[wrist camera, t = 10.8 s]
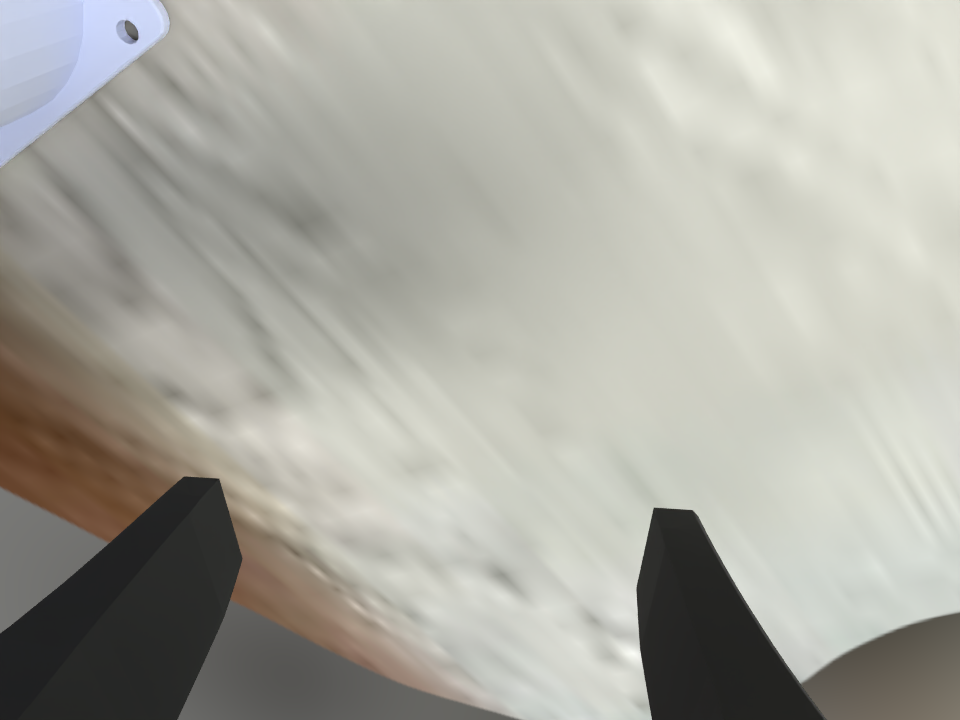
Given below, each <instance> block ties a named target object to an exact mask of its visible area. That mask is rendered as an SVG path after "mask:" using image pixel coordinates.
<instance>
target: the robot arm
mask: <svg viewBox="0 0 960 720" xmlns="http://www.w3.org/2000/svg"><path fill="white" fill-rule="evenodd" d="M126 20H128V21H130V22H131V23H133V24H134V25H135V26H136V28H137V30H138V35H139V38H138V40H133V39H132V38H131V37H130V36H129V35H128V34H127V32H126V30H125V21H126ZM169 26H170V21H169V16H168V13H167V11H166V10H165V8H164V6H163V5H162V3H161V2H160V1H159V0H0V168H1V167H3V166H4V165H5V164H6V163H8V162H9V161H10V160H11V159H13V158H14V157H15V156H16V155H18V154H19V153H20V152H21V151H23V150H24V149H25V148H26V147H28V146H29V145H30V144H31V143H33V142H34V141H35V140H36V139H38V138H39V137H40V136H41V135H43V134H44V133H45V132H46V131H48V130H49V129H50V128H51V127H53V126H54V125H55V124H56V123H58V122H59V121H60V120H61V119H63V118H64V117H65V116H66V115H68V114H69V113H70V112H71V111H73V110H74V109H75V108H76V107H78V106H79V105H80V104H81V103H83V102H84V101H85V100H86V99H88V98H89V97H90V96H91V95H93V94H94V93H95V92H96V91H98V90H99V89H100V88H101V87H103V86H104V85H105V84H106V83H108V82H109V81H110V80H111V79H113V78H114V77H115V76H116V75H118V74H119V73H120V72H121V71H123V70H124V69H125V68H126V67H128V66H129V65H130V64H131V63H133V62H134V61H135V60H136V59H138V58H139V57H140V56H141V55H143V54H144V53H145V52H146V51H148V50H149V49H150V48H151V47H153V46H154V45H155V44H156V43H158V42H159V41H160V40H161V39H163V38H164V37H165V35H166V34H167V33H168V31H169ZM241 562H242V555H241V552H240V549H239V545H238V542H237V538H236V535H235V531H234V528H233V525H232V521H231V518H230V514H229V511H228V507H227V504H226V501H225V497H224V494H223V490H222V487H221V483H220V480H219V479H214V478H199V477H183V478H182V479H181V480H180V481H178V482H177V483H176V484H175V485H174V486H173V487H172V488H170V489H169V490H168V491H167V492H166V493H165V494H164V495H163V496H161V497H160V498H159V499H158V500H157V501H156V502H155V503H154V504H152V505H151V506H150V507H149V508H148V509H147V510H146V511H145V512H144V513H143V514H141V515H140V516H139V517H138V518H137V519H136V520H135V521H134V522H133V523H131V524H130V525H129V526H128V527H127V528H126V529H125V530H124V531H123V532H121V533H120V534H119V535H118V536H117V537H116V538H115V539H114V540H112V541H111V542H110V543H109V544H108V545H107V546H106V547H104V548H103V549H102V550H101V551H100V552H99V553H98V554H96V555H95V556H94V557H93V558H92V559H91V560H90V561H88V562H87V563H86V564H85V565H84V566H83V567H82V568H80V569H79V570H78V571H77V572H76V573H75V574H74V575H72V576H71V577H70V578H69V579H68V580H66V581H65V582H64V583H63V584H62V585H60V586H59V587H58V588H57V589H56V590H54V591H53V592H52V593H51V594H49V595H48V596H47V597H46V598H44V599H43V600H42V601H41V602H39V603H38V604H37V605H36V606H34V607H33V608H32V609H31V610H30V611H28V612H27V613H26V614H25V615H23V616H22V617H21V618H20V619H19V620H17V621H16V622H15V623H14V624H12V625H11V626H10V627H9V628H7V629H6V630H4V631H3V632H2V633H0V720H177V719H178V717H179V714H180V712H181V710H182V708H183V706H184V704H185V702H186V700H187V697H188V695H189V693H190V691H191V689H192V687H193V684H194V682H195V680H196V678H197V676H198V674H199V672H200V669H201V667H202V665H203V663H204V661H205V658H206V656H207V654H208V652H209V650H210V647H211V645H212V643H213V641H214V639H215V636H216V634H217V632H218V630H219V627H220V625H221V623H222V621H223V618H224V616H225V612H226V610H227V607H228V604H229V601H230V598H231V595H232V592H233V589H234V585H235V582H236V579H237V575H238V572H239V569H240V566H241ZM637 606H638V624H639V638H640V651H641V657H642V663H643V669H644V675H645V681H646V687H647V693H648V699H649V705H650V710H651V716H652V720H826V718H825V717H824V716H823V714H822V713H821V712H820V710H819V709H818V707H817V706H816V705H815V703H814V702H813V701H812V699H811V698H810V697H809V695H808V694H807V693H806V691H805V690H804V688H803V687H802V685H801V684H800V683H799V681H798V680H797V678H796V677H795V676H794V674H793V673H792V671H791V670H790V669H789V667H788V666H787V664H786V663H785V661H784V660H783V658H782V657H781V655H780V654H779V653H778V651H777V650H776V648H775V647H774V645H773V644H772V642H771V641H770V639H769V637H768V636H767V634H766V633H765V631H764V630H763V628H762V627H761V625H760V623H759V622H758V620H757V619H756V617H755V616H754V614H753V612H752V611H751V609H750V608H749V606H748V605H747V603H746V601H745V600H744V598H743V596H742V595H741V593H740V591H739V590H738V588H737V586H736V585H735V583H734V581H733V580H732V578H731V576H730V574H729V573H728V571H727V569H726V568H725V566H724V564H723V562H722V560H721V559H720V557H719V555H718V553H717V552H716V550H715V548H714V546H713V544H712V542H711V540H710V539H709V537H708V535H707V533H706V531H705V529H704V527H703V525H702V523H701V521H700V519H699V517H698V516H697V515H696V513H695V512H694V511H693V510H681V509H666V508H654V509H653V514H652V519H651V523H650V528H649V533H648V537H647V542H646V546H645V551H644V556H643V560H642V565H641V570H640V574H639V579H638V583H637Z"/></svg>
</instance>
